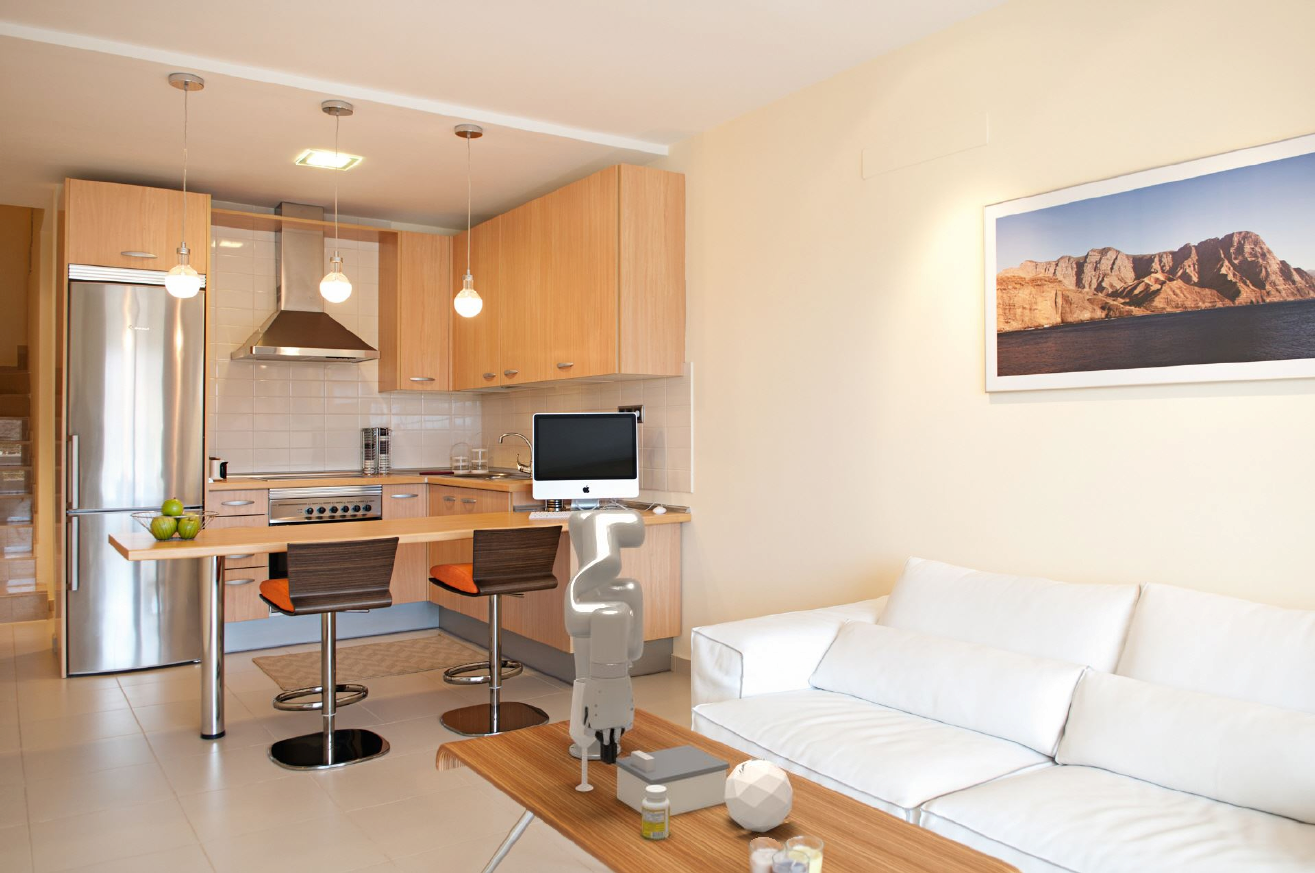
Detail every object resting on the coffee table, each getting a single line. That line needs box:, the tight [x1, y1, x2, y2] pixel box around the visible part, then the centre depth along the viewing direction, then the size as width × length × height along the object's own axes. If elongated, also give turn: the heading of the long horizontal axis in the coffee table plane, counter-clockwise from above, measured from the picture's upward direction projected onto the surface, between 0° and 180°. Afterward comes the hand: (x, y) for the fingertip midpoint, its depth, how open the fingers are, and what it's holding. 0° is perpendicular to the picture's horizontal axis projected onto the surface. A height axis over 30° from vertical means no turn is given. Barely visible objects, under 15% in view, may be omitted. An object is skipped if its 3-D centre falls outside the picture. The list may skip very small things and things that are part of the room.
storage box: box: [616, 766, 727, 817], centre depth 194 cm, size 14×18×8 cm
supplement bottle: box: [641, 785, 671, 841], centre depth 177 cm, size 5×5×10 cm
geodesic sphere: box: [724, 756, 794, 833], centre depth 182 cm, size 14×14×14 cm
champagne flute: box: [568, 678, 596, 792], centre depth 201 cm, size 7×7×24 cm
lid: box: [614, 744, 731, 785], centre depth 194 cm, size 15×19×4 cm
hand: (608, 762), depth 186 cm, fingers closed
